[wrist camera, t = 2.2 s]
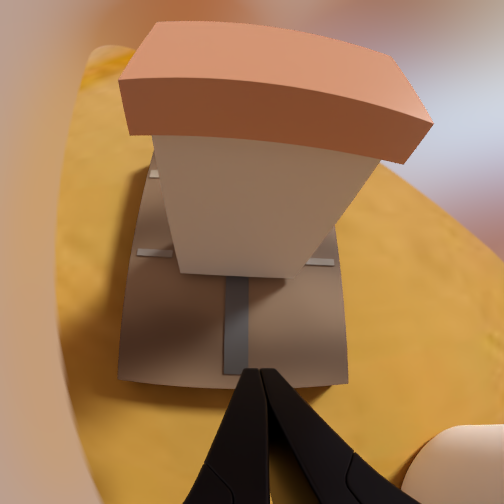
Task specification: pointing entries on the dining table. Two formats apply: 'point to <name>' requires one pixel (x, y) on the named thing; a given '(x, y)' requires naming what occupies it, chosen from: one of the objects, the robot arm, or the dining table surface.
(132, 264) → the fader console
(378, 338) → the dining table surface
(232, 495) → the robot arm
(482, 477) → the mug
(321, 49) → the fader tab
